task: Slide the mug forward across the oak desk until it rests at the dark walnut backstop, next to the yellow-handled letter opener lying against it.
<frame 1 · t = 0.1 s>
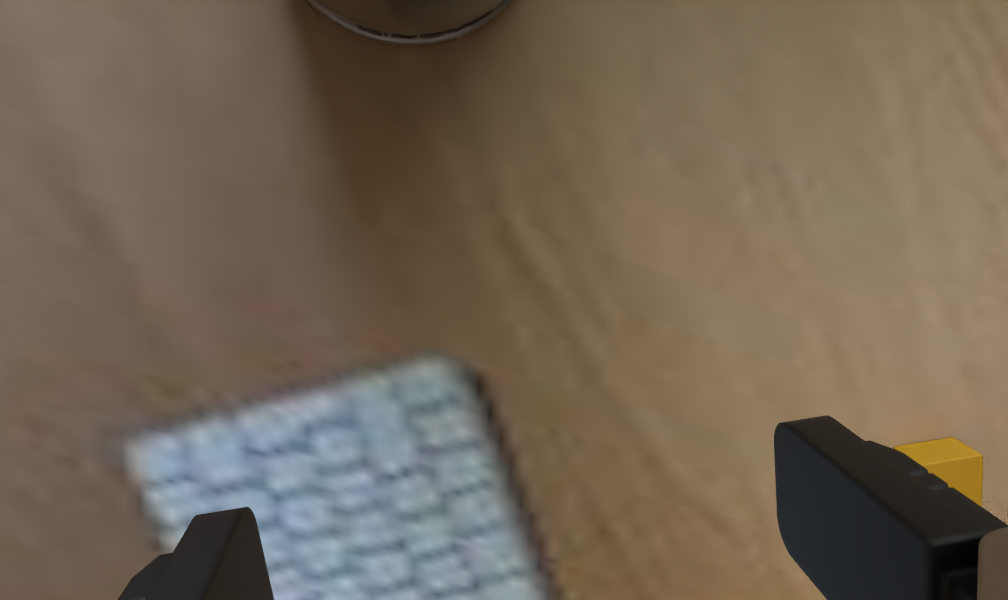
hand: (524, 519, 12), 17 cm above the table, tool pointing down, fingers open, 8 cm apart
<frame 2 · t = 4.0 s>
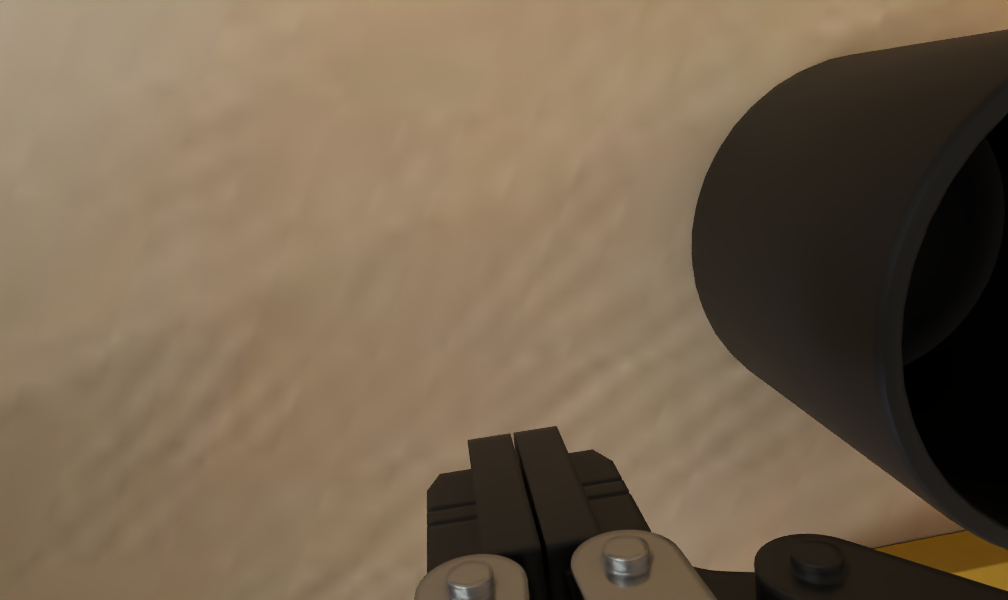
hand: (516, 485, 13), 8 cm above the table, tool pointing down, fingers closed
mug: (854, 274, 22), on the table
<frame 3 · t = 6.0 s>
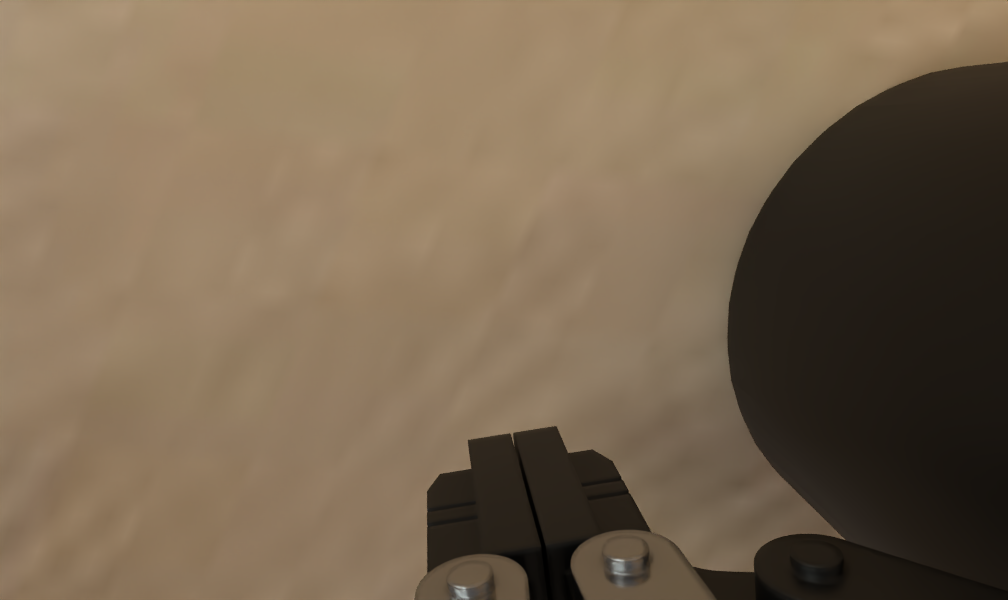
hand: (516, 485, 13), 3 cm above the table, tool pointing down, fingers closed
mug: (944, 364, 16), on the table, touching hand
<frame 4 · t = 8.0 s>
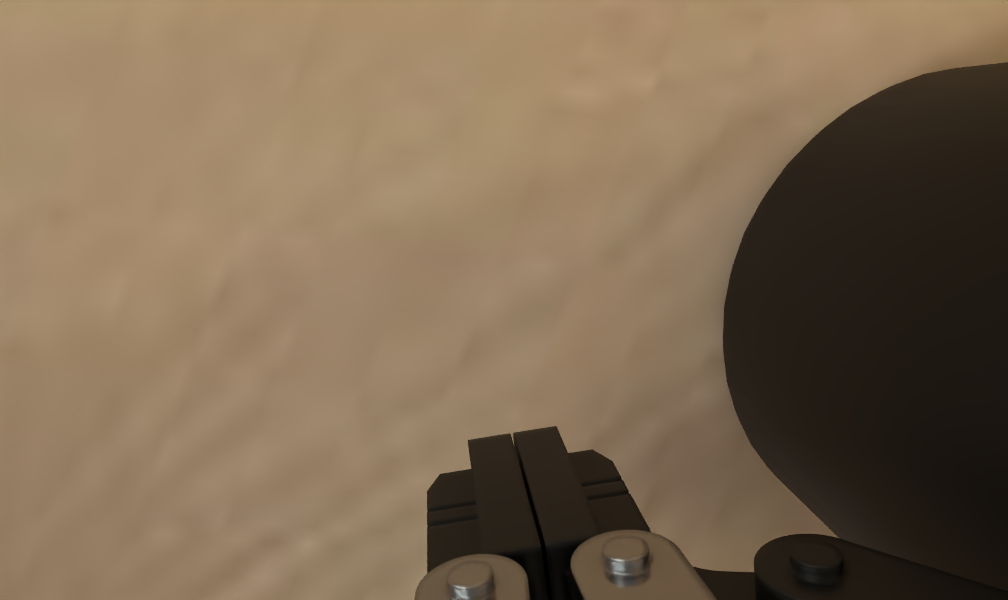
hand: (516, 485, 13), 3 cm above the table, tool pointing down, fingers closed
mug: (938, 364, 16), on the table, touching hand
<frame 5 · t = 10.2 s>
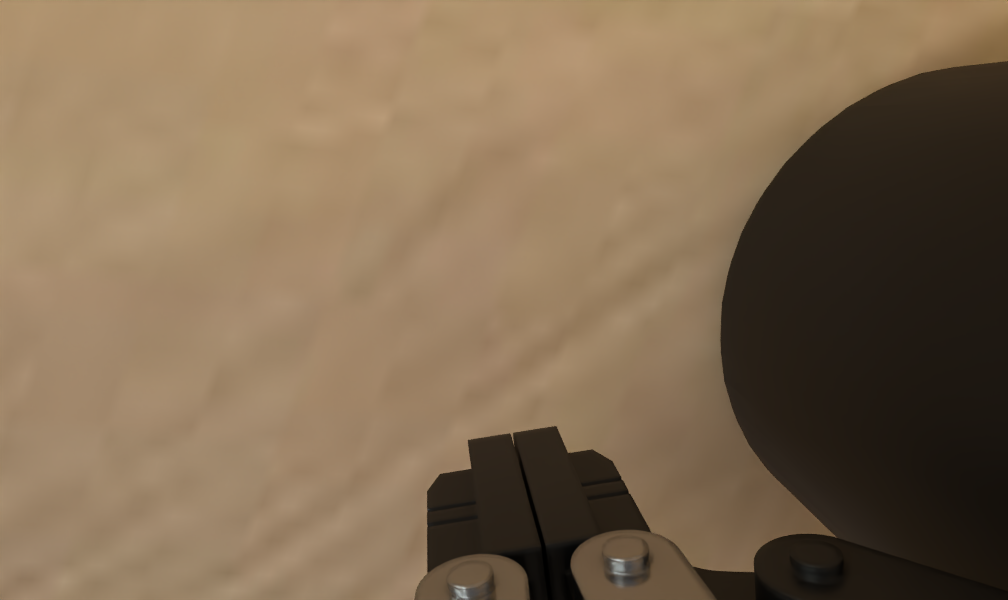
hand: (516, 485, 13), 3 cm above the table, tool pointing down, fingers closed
mug: (935, 363, 16), on the table, touching hand
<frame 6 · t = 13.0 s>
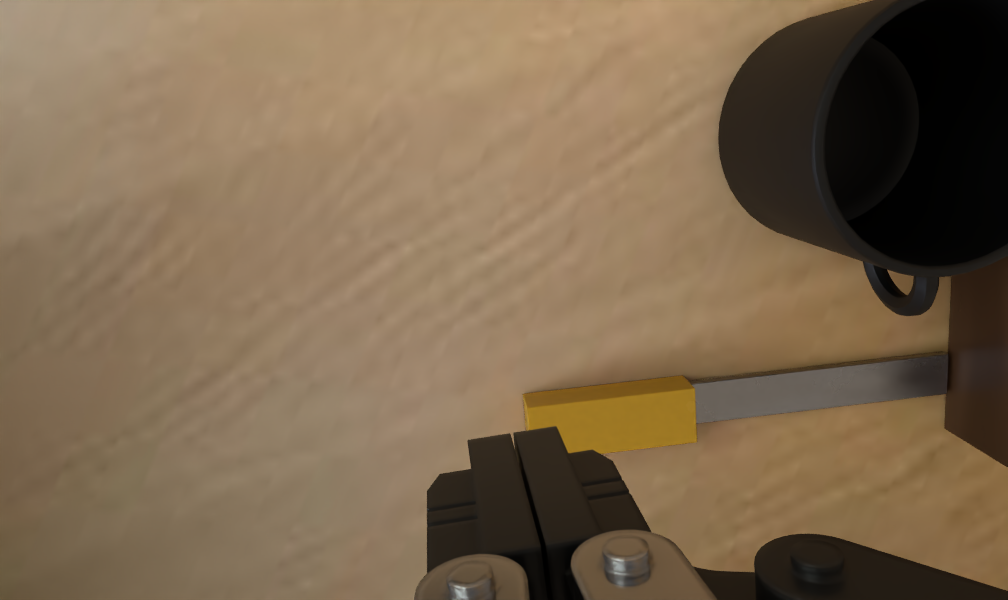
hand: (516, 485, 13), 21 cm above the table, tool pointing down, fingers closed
backstop: (979, 221, 35), on the table
letter opener: (736, 395, 36), on the table
mug: (822, 159, 34), on the table
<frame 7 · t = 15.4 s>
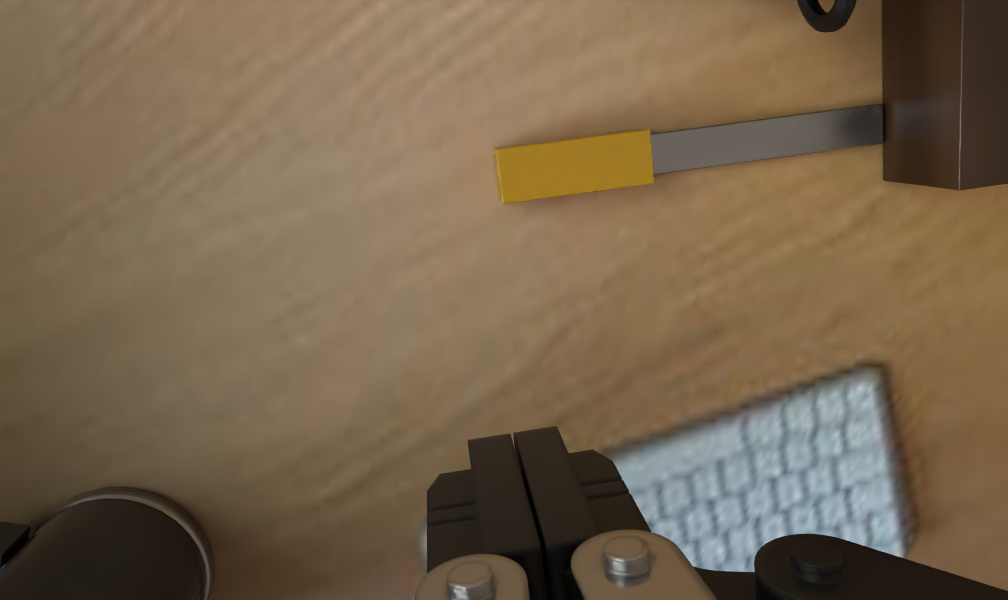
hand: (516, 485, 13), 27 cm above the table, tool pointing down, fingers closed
letter opener: (690, 148, 39), on the table
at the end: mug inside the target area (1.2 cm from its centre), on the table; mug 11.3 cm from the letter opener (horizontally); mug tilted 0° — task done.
